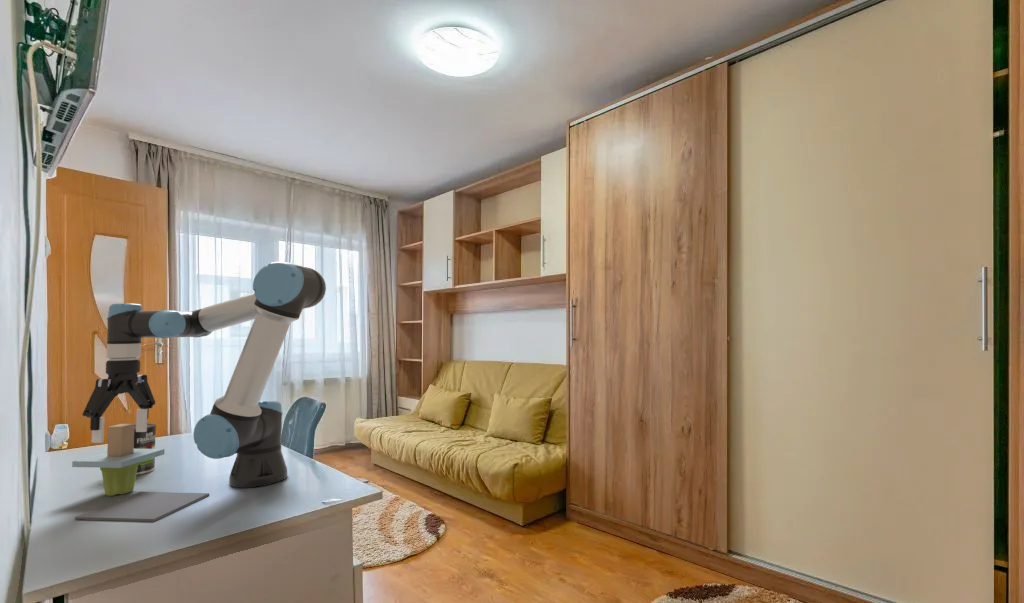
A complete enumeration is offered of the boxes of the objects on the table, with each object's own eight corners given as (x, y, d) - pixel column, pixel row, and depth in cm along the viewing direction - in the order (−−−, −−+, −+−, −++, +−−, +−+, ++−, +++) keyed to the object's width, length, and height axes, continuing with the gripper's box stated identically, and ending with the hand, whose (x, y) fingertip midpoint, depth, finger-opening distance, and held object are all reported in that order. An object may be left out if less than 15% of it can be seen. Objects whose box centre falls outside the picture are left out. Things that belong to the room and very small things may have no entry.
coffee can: (163, 467, 160) (164, 423, 160) (133, 477, 149) (135, 430, 150) (135, 466, 161) (136, 423, 162) (104, 476, 151) (106, 429, 152)
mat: (209, 495, 132) (209, 493, 132) (154, 521, 114) (154, 519, 114) (139, 494, 134) (140, 491, 134) (74, 519, 116) (75, 516, 116)
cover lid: (164, 454, 142) (165, 420, 143) (121, 467, 128) (122, 430, 129) (119, 453, 143) (120, 420, 144) (72, 467, 129) (73, 430, 130)
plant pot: (116, 499, 130) (117, 465, 130) (87, 497, 132) (88, 464, 132) (149, 488, 139) (150, 456, 139) (121, 486, 141) (122, 455, 141)
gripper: (148, 356, 150) (145, 427, 149) (66, 362, 125) (62, 447, 124) (171, 356, 149) (168, 428, 148) (93, 362, 125) (90, 447, 123)
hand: (120, 436), depth 136 cm, fingers open, 13 cm apart
